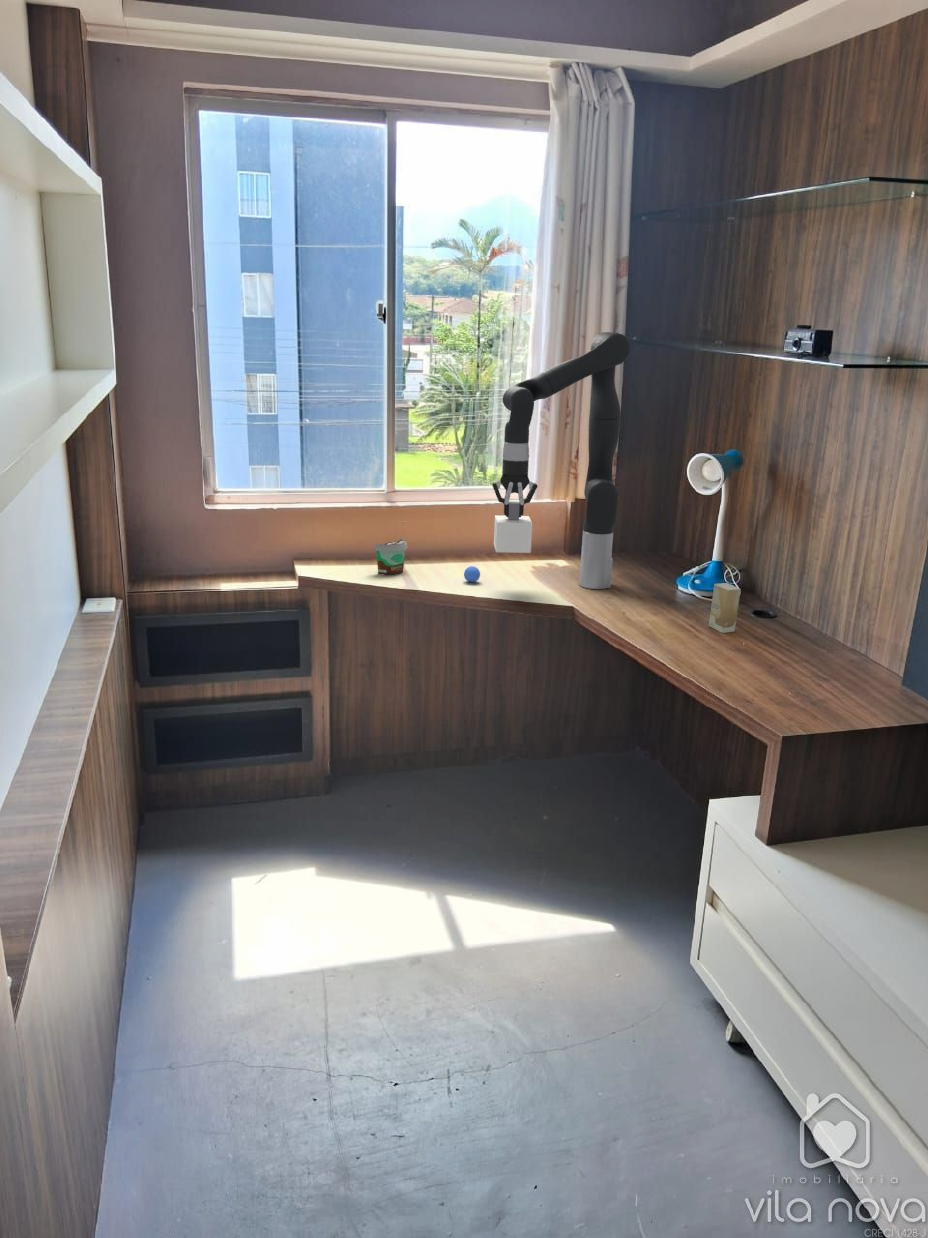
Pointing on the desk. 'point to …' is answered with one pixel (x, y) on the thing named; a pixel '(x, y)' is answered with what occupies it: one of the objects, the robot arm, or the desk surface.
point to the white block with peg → (513, 531)
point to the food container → (391, 557)
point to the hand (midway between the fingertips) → (513, 516)
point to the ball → (472, 574)
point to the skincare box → (724, 607)
